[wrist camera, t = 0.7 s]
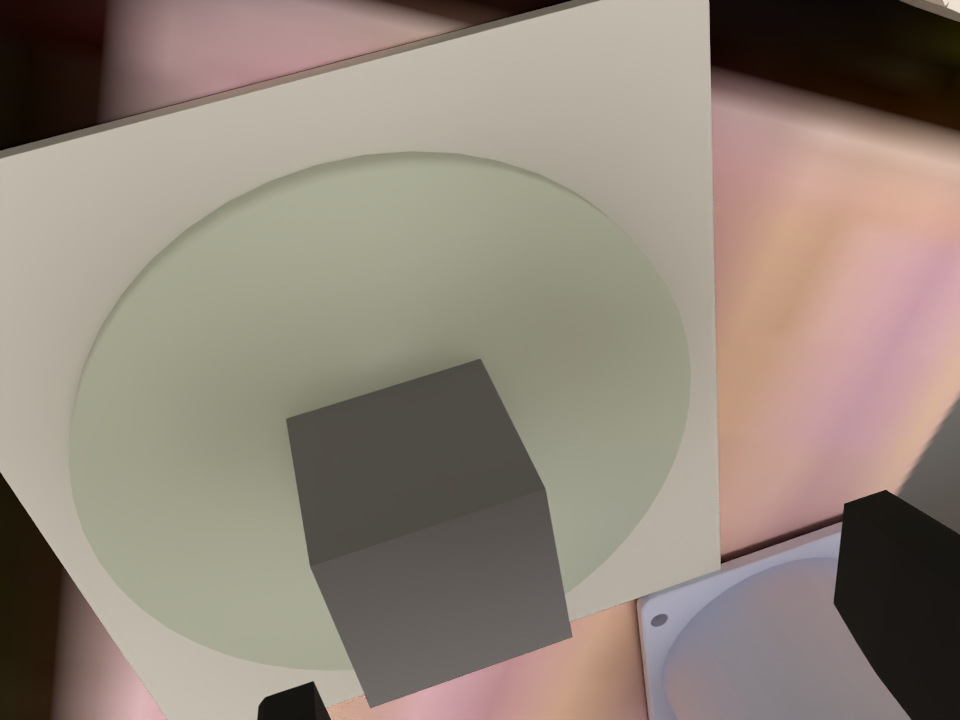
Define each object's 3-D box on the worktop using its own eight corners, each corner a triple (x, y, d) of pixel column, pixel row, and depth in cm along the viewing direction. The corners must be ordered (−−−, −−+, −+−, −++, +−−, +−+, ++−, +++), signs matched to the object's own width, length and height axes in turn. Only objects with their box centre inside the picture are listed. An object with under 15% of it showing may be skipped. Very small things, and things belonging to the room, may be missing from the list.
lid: (685, 544, 24) (780, 692, 20) (208, 708, 23) (215, 903, 19) (660, 69, 17) (803, 165, 13) (-62, 268, 15) (-144, 446, 11)
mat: (714, 559, 26) (720, 569, 25) (190, 741, 24) (190, 755, 23) (697, -33, 16) (708, -29, 16) (-171, 195, 14) (-179, 206, 14)
